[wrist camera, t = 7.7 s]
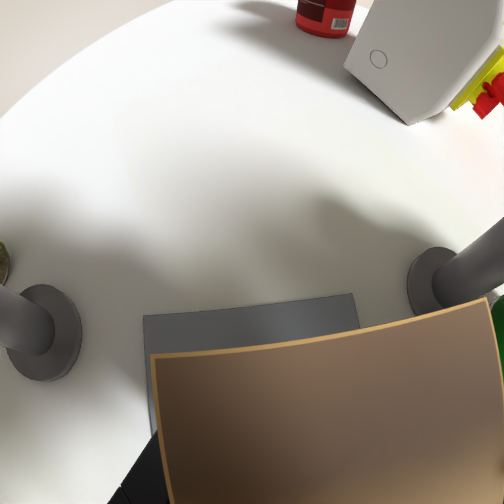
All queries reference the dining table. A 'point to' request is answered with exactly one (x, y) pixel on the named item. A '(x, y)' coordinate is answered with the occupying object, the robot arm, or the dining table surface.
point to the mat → (244, 328)
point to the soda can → (499, 326)
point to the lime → (3, 263)
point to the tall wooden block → (339, 416)
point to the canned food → (325, 17)
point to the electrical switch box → (431, 55)
